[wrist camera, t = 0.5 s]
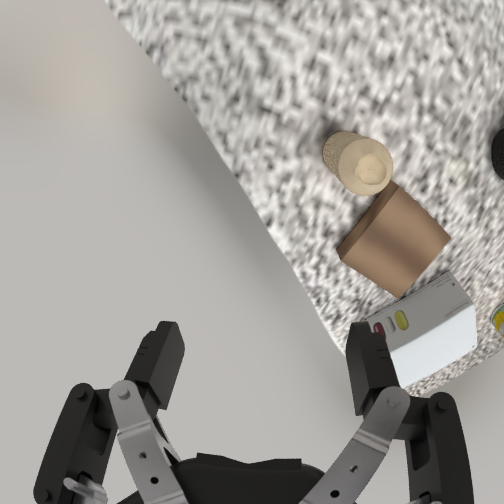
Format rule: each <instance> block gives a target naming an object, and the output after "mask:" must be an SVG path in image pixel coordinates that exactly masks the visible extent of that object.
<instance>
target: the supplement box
mask: <svg viewBox="0 0 504 504" xmlns="http://www.w3.org/2000/svg"><path fill="white" fill-rule="evenodd" d="M366 320H367V322H368V323H369V325H370V328H371V331H372V332H379V333H380V334H381V335H382V336H383V337H384V339H385V340H386V343H387V346H388V351H389V352H390V355H391V358H392V361H393V364H394V368H395V371H396V374H397V378H398V381H399V384H400V387H401V388H402V389H404V388H406V387H408V386H410V385H412V384H414V383H416V382H418V381H420V380H422V379H424V378H426V377H428V376H430V375H431V374H433V373H435V372H437V371H439V370H440V369H442V368H444V367H446V366H447V365H449V364H451V363H452V362H454V361H456V360H457V359H459V358H461V357H462V356H464V355H465V354H467V353H468V352H470V351H472V350H473V349H475V348H477V332H476V317H475V306H474V303H473V302H472V300H471V299H470V297H469V296H468V295H467V293H466V292H465V290H464V289H463V288H462V286H461V285H460V284H459V282H458V281H457V280H456V279H455V277H454V276H453V275H452V273H451V272H450V271H449V270H448V271H447V272H446V273H444V274H443V275H441V276H440V277H438V278H436V279H435V280H433V281H432V282H430V283H428V284H427V285H425V286H424V287H422V288H420V289H419V290H417V291H415V292H414V293H412V294H410V295H409V296H407V297H405V298H403V299H402V300H400V301H398V302H396V303H395V304H393V305H391V306H389V307H387V308H386V309H384V310H382V311H380V312H378V313H376V314H375V315H373V316H371V317H369V318H367V319H366Z"/></svg>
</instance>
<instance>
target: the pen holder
mask: <svg viewBox="0 0 504 504" xmlns="http://www.w3.org/2000/svg"><path fill="white" fill-rule="evenodd" d="M492 159H493V164H494V168H495V170H496V172H497V174H498V175H499V177H500V178H501V179H503V180H504V129H502V130H501V131H499V133H498V134H497V135H496V137H495V139H494V143H493V148H492Z"/></svg>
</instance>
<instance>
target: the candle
mask: <svg viewBox="0 0 504 504" xmlns="http://www.w3.org/2000/svg"><path fill="white" fill-rule="evenodd" d="M323 157H324V161H325V163H326V165H327V167H328V168H329V169H330V170H331V171H332V172H333V174H334V175H335V176H336V177H337V178H338V179H339V180H340V181H341V182H342V184H343V185H344V186H345V187H346V188H347V189H348V190H349V191H351V192H352V193H354V194H357V195H361V196H370V195H374V194H376V193H378V192H380V191H381V190H383V189H384V188H385V187H386V186H387V184H388V183H389V181H390V179H391V176H392V172H393V162H392V158H391V155H390V153H389V152H388V150H387V149H386V148H385V146H383V145H382V144H381V143H380V142H378V141H376V140H373V139H370V138H367V137H364V136H361V135H358V134H355V133H351V132H346V131H343V132H338V133H335V134H333V135H332V136H330V137H329V138H328V140H327V141H326V143H325V145H324V148H323Z"/></svg>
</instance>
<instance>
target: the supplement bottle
mask: <svg viewBox="0 0 504 504" xmlns="http://www.w3.org/2000/svg"><path fill="white" fill-rule="evenodd" d="M491 322H492V324H493V325H494V327H495V328H496V329H497V331H498V332H499V334H500V335H501V337H502V339H503V340H504V304H501V305H500V306H498V307H497V308H496V309H495V311H494V312H493V314H492V316H491Z"/></svg>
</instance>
